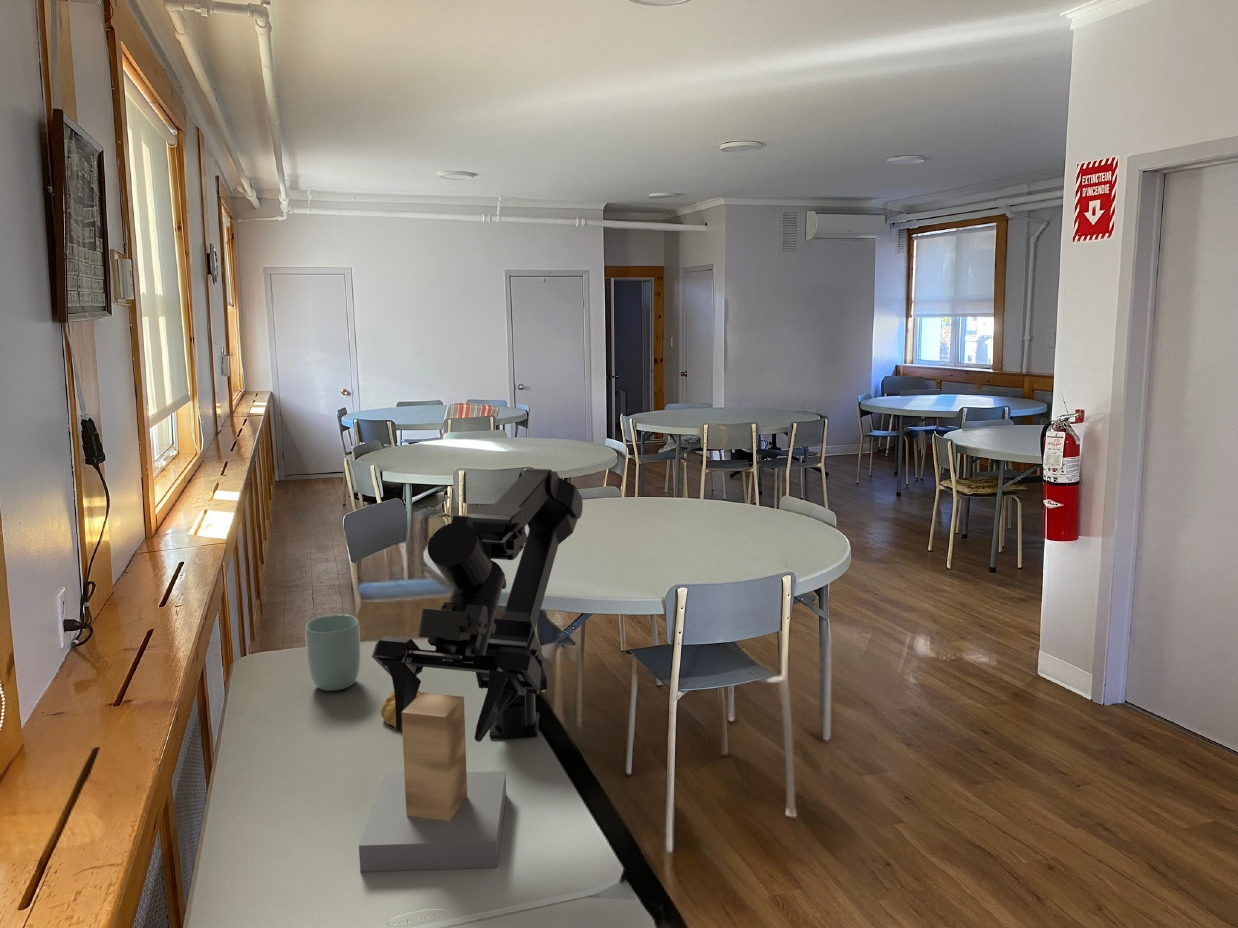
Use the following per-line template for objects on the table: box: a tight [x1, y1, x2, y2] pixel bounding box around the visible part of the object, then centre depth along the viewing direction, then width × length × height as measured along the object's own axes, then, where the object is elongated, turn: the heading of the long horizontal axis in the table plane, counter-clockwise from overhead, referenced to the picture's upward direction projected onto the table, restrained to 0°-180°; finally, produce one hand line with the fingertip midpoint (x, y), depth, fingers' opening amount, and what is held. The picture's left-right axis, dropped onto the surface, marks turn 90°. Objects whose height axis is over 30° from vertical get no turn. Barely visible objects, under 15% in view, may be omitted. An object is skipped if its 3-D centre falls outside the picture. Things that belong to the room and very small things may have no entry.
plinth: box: [358, 770, 507, 873], centre depth 101 cm, size 14×14×3 cm
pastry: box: [380, 690, 422, 728], centre depth 126 cm, size 9×7×4 cm
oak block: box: [401, 692, 467, 821], centre depth 99 cm, size 5×5×12 cm
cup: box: [304, 613, 361, 692], centre depth 137 cm, size 8×8×10 cm
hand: (437, 735), depth 100 cm, fingers open, 9 cm apart
